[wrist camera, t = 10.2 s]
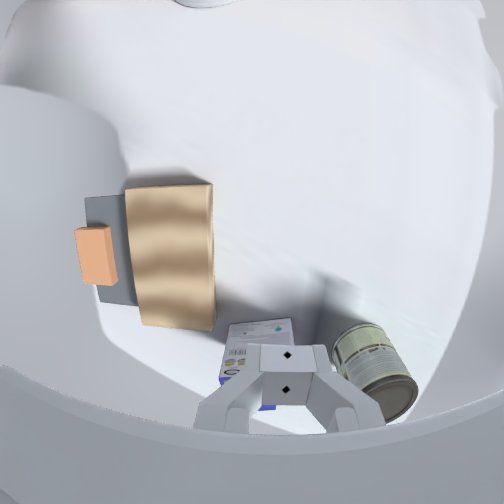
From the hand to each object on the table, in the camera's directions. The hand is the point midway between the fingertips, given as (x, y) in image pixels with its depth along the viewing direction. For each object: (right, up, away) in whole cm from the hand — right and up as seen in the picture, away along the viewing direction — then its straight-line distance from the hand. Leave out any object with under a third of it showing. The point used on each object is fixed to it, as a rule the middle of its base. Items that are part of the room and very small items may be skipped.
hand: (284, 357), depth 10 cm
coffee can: (+17, -12, +32) cm, 39 cm away
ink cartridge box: (0, -9, +32) cm, 33 cm away
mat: (-23, +4, +29) cm, 37 cm away
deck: (-12, +4, +29) cm, 31 cm away
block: (-26, +3, +27) cm, 38 cm away
